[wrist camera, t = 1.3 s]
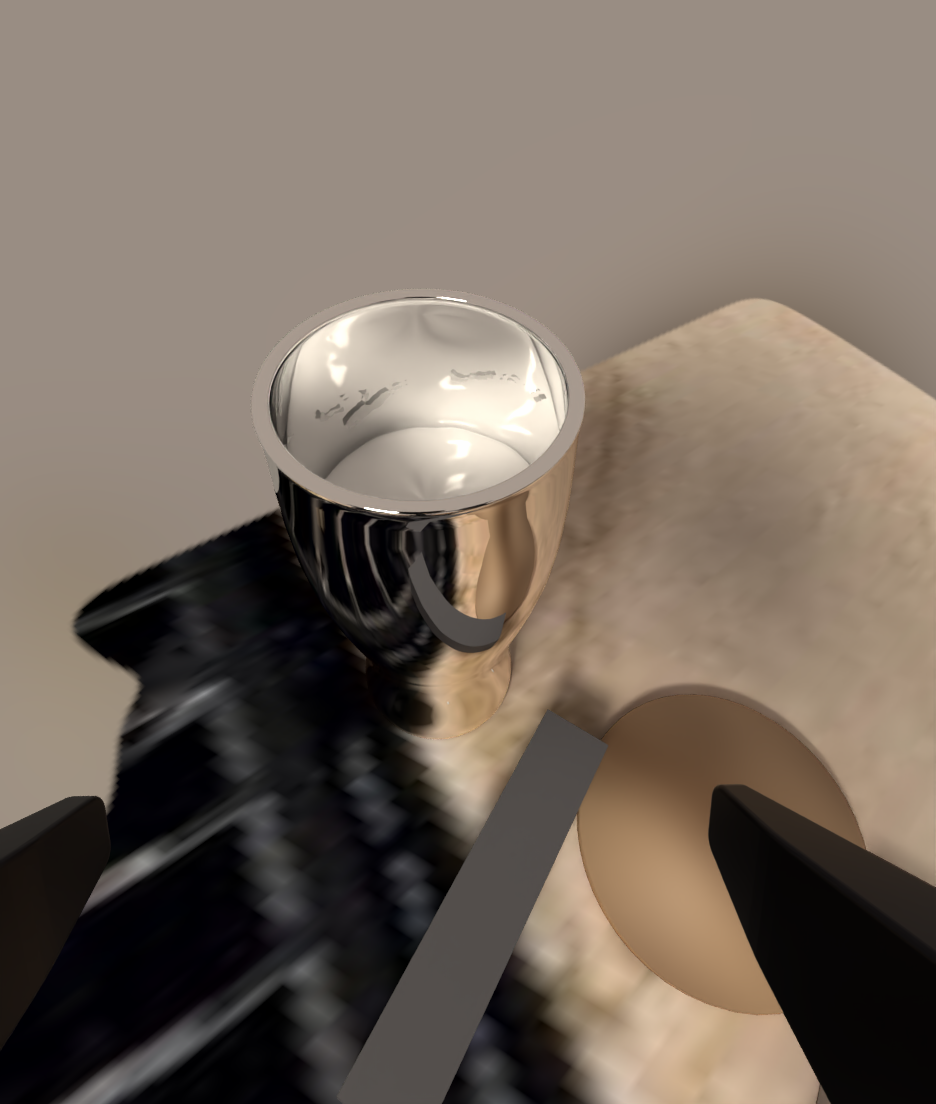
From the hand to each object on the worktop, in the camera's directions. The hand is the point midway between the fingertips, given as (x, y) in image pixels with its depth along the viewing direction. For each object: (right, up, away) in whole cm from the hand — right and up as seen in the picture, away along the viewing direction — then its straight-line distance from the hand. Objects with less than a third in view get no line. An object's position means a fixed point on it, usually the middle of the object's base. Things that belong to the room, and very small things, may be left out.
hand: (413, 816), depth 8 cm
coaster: (+10, -6, +12) cm, 17 cm away
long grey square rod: (+2, -8, +11) cm, 13 cm away
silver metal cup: (0, -1, +15) cm, 15 cm away
